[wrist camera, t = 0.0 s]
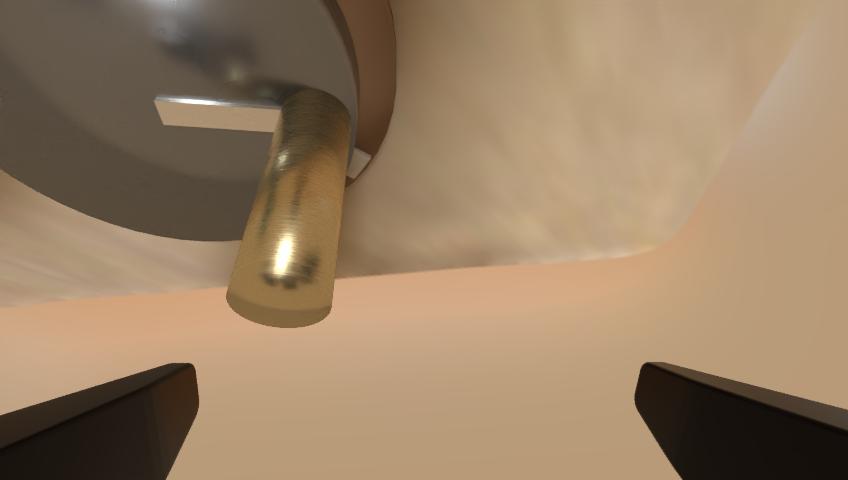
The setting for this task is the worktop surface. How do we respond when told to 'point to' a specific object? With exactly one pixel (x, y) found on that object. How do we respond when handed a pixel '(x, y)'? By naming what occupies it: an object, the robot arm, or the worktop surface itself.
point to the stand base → (371, 76)
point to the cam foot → (192, 129)
